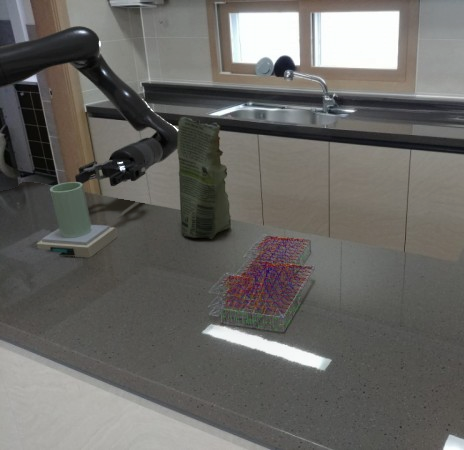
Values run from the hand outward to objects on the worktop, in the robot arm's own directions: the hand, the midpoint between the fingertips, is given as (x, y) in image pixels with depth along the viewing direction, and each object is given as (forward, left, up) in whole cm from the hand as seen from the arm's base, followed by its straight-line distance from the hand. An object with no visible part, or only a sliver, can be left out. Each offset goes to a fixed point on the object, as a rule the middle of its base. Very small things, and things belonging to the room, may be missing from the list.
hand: (94, 181), depth 118 cm
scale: (0, -10, -11) cm, 15 cm away
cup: (0, -10, -8) cm, 12 cm away
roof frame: (+45, -19, -11) cm, 50 cm away
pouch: (+25, +1, -11) cm, 28 cm away
